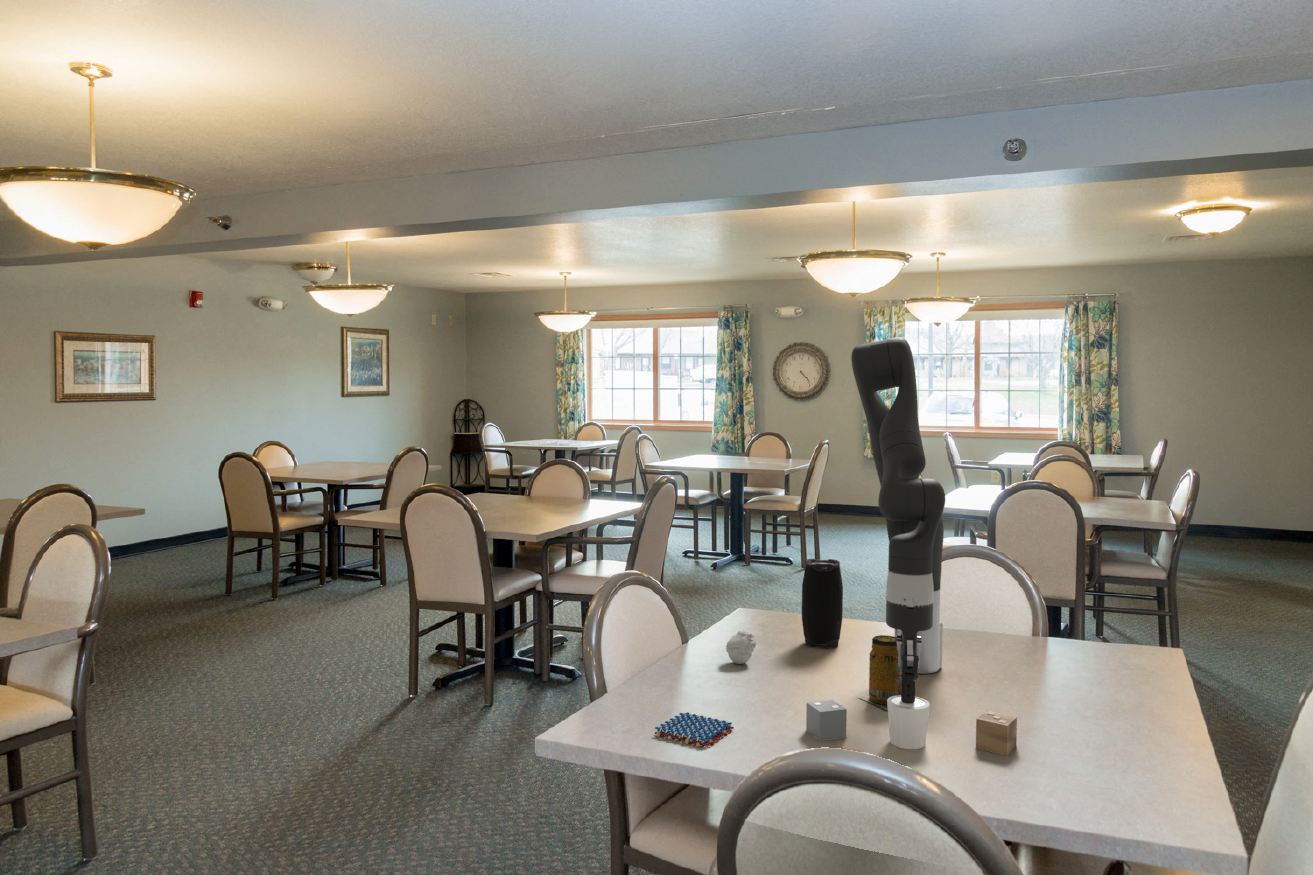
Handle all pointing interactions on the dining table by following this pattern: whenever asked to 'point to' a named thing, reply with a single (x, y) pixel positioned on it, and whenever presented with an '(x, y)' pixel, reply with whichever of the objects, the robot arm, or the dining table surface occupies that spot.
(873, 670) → the condiment
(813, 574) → the portable speaker
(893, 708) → the shot glass
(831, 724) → the slate dotted block
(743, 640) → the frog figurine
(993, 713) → the walnut dotted block
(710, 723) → the woven mat
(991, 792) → the dining table surface
